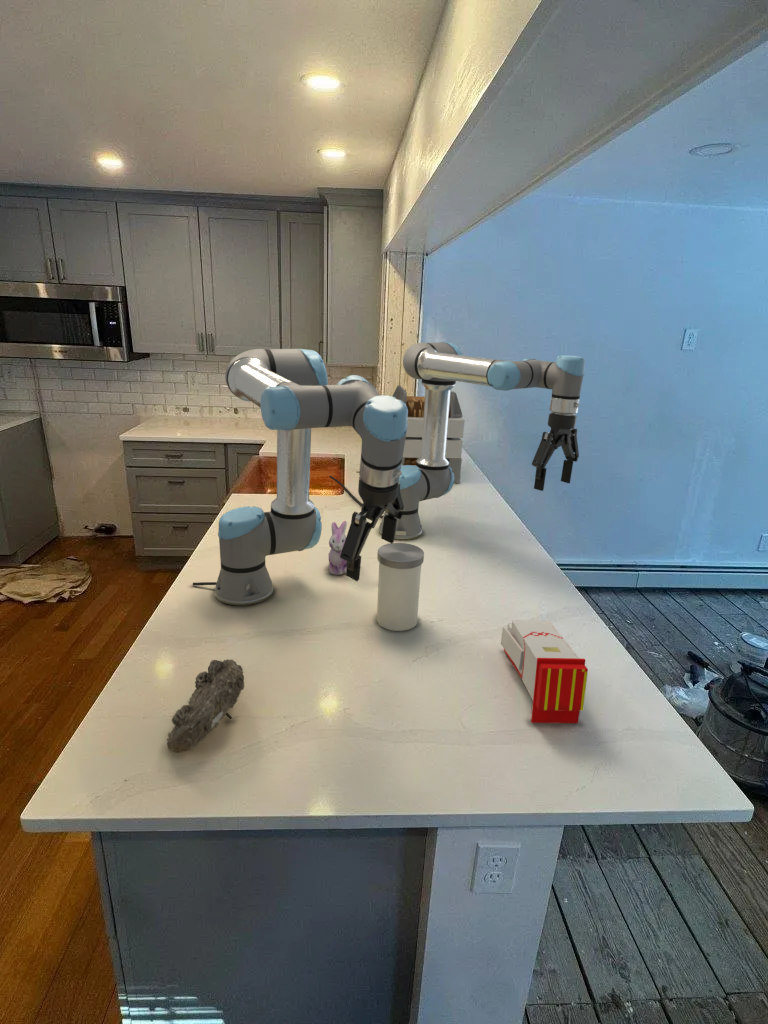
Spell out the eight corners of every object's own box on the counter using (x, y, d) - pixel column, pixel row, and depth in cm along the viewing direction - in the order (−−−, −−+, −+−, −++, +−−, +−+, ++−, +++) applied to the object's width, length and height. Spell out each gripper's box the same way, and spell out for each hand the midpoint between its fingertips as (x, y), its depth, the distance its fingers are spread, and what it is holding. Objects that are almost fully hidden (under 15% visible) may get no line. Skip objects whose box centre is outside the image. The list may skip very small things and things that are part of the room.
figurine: (333, 578, 165) (334, 530, 160) (320, 564, 173) (320, 518, 168) (362, 573, 169) (364, 526, 164) (348, 559, 177) (349, 514, 172)
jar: (368, 616, 146) (371, 550, 139) (401, 606, 151) (405, 542, 145) (392, 635, 138) (396, 565, 132) (425, 623, 144) (430, 556, 137)
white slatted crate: (382, 463, 289) (386, 382, 275) (445, 464, 293) (451, 384, 279) (390, 482, 257) (394, 392, 243) (460, 483, 261) (468, 394, 247)
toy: (547, 606, 135) (596, 665, 106) (541, 658, 138) (589, 729, 108) (496, 604, 134) (532, 664, 105) (492, 657, 137) (526, 729, 108)
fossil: (192, 660, 117) (244, 628, 112) (224, 691, 120) (276, 661, 115) (142, 746, 98) (202, 712, 93) (182, 779, 101) (242, 748, 96)
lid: (368, 555, 140) (368, 548, 139) (405, 546, 146) (405, 539, 146) (395, 573, 131) (395, 565, 131) (433, 562, 138) (433, 555, 137)
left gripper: (359, 521, 95) (352, 603, 109) (428, 454, 112) (415, 533, 126) (323, 503, 98) (320, 586, 112) (396, 441, 115) (386, 519, 129)
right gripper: (548, 419, 148) (537, 496, 155) (598, 411, 163) (586, 482, 171) (525, 414, 153) (515, 489, 160) (575, 407, 169) (564, 476, 176)
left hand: (370, 558), depth 119 cm, fingers open, 13 cm apart
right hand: (552, 485), depth 166 cm, fingers open, 13 cm apart
